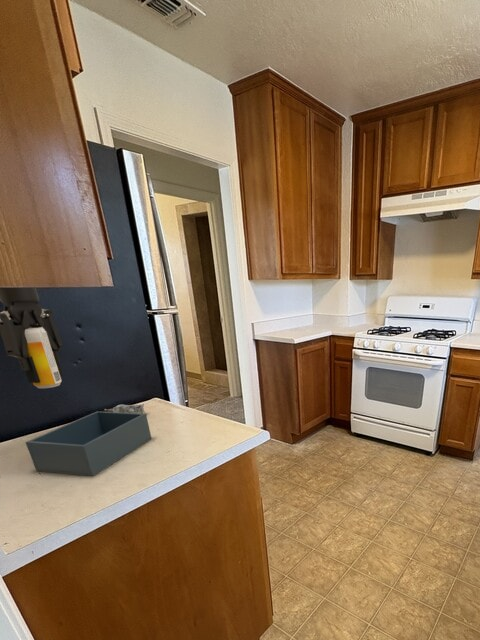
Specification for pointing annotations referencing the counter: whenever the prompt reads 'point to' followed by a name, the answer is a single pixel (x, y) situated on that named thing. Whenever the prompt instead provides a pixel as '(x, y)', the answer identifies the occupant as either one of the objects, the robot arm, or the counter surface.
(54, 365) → the beer can
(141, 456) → the counter surface
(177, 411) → the counter surface
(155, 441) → the counter surface
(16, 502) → the counter surface
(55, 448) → the tub
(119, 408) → the egg carton
